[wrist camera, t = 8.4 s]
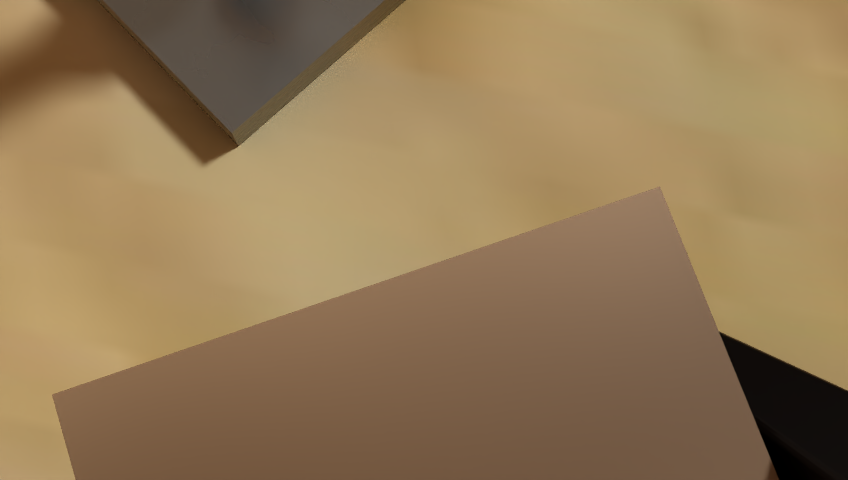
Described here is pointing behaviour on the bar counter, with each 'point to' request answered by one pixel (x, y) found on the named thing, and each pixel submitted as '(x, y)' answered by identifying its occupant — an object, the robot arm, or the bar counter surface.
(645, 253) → the walnut block
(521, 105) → the bar counter surface
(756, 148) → the bar counter surface
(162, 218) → the bar counter surface
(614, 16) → the bar counter surface
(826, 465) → the robot arm
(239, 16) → the height gauge
